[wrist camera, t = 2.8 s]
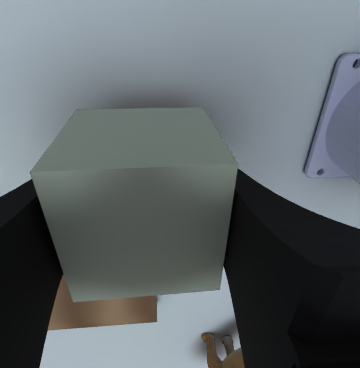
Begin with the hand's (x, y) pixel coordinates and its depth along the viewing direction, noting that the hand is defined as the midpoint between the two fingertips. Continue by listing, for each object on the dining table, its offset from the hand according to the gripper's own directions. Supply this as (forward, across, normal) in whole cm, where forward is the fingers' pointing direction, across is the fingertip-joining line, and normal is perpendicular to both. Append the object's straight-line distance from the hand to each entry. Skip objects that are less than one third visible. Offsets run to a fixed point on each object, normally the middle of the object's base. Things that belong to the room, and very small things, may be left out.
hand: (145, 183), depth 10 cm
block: (+2, 0, 0) cm, 2 cm away
